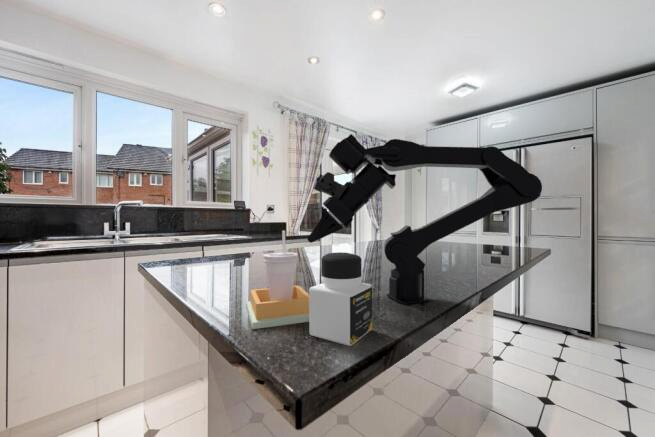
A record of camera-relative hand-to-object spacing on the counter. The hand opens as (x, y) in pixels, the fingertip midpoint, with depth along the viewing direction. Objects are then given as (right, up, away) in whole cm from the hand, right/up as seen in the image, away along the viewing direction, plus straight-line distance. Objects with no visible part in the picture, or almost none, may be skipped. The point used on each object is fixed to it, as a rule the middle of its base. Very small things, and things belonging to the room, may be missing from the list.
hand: (311, 239), depth 62 cm
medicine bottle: (+6, -13, -19) cm, 24 cm away
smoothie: (-5, -12, -10) cm, 16 cm away
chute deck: (-1, -13, -9) cm, 15 cm away
